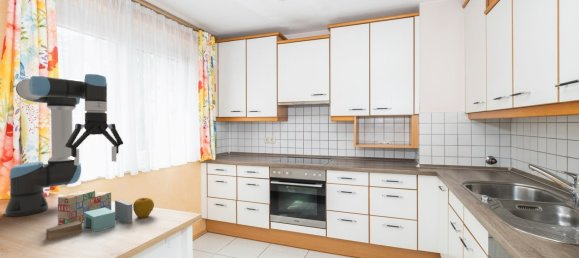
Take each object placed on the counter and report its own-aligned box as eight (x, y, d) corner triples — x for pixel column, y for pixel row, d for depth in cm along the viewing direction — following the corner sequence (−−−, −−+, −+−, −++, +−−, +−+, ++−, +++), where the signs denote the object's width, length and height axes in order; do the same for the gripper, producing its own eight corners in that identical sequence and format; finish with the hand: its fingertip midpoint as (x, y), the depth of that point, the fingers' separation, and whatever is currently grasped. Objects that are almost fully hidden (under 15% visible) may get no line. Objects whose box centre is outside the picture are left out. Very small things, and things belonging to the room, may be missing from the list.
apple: (157, 213, 134) (157, 195, 134) (147, 220, 126) (147, 200, 125) (139, 213, 134) (139, 195, 134) (129, 219, 126) (129, 200, 126)
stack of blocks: (101, 209, 140) (100, 185, 139) (111, 210, 138) (111, 186, 138) (57, 225, 119) (57, 196, 118) (69, 226, 117) (69, 197, 117)
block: (83, 226, 117) (83, 212, 117) (105, 220, 124) (105, 207, 124) (93, 231, 112) (93, 217, 112) (115, 225, 118) (115, 211, 118)
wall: (115, 217, 128) (115, 200, 128) (119, 216, 130) (119, 199, 130) (127, 223, 121) (127, 205, 121) (132, 222, 123) (132, 204, 123)
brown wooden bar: (46, 239, 105) (46, 228, 105) (78, 230, 113) (78, 221, 113) (49, 241, 103) (49, 231, 103) (81, 233, 111) (81, 223, 111)
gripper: (62, 110, 103) (62, 167, 103) (131, 113, 123) (131, 160, 124) (54, 111, 107) (55, 165, 108) (123, 113, 128) (123, 159, 128)
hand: (96, 163), depth 116 cm, fingers open, 13 cm apart
